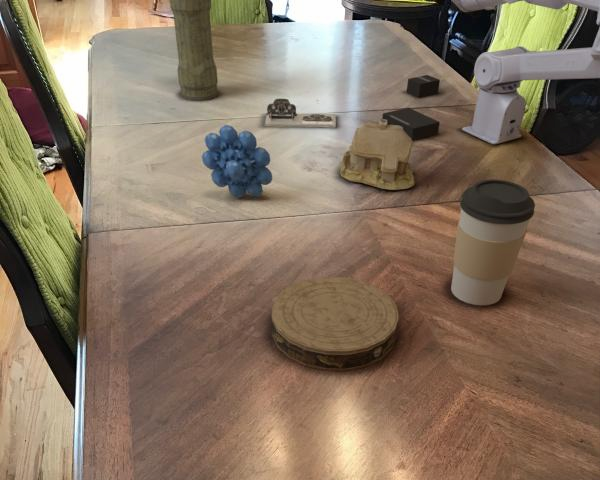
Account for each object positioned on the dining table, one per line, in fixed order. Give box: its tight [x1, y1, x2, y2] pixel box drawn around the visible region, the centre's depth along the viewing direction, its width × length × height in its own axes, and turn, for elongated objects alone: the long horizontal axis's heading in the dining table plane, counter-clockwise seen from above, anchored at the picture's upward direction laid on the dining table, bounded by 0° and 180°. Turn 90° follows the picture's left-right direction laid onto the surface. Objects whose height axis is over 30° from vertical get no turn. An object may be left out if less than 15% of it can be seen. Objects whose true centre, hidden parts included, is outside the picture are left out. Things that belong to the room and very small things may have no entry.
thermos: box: [169, 0, 219, 102], centre depth 132 cm, size 9×12×35 cm
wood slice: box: [271, 276, 400, 372], centre depth 78 cm, size 16×16×3 cm
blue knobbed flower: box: [201, 124, 273, 199], centre depth 101 cm, size 12×7×12 cm, turn 85°
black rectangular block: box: [406, 74, 441, 98], centre depth 146 cm, size 4×6×3 cm
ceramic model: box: [338, 118, 415, 191], centre depth 109 cm, size 14×11×10 cm
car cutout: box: [264, 98, 337, 129], centre depth 131 cm, size 15×7×4 cm, turn 88°
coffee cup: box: [450, 178, 536, 306], centre depth 80 cm, size 9×9×15 cm
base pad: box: [381, 107, 441, 142], centre depth 128 cm, size 10×7×3 cm
